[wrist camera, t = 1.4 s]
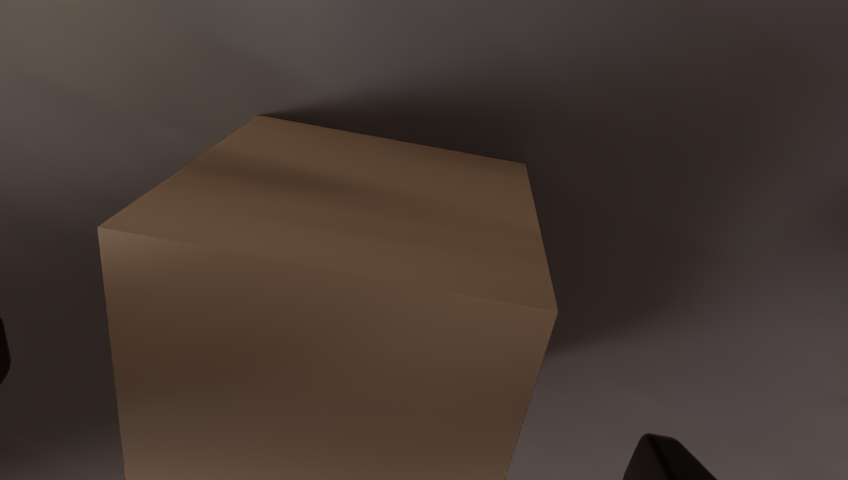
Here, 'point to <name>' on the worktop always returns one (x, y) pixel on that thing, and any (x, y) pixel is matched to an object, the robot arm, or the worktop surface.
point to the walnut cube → (326, 311)
